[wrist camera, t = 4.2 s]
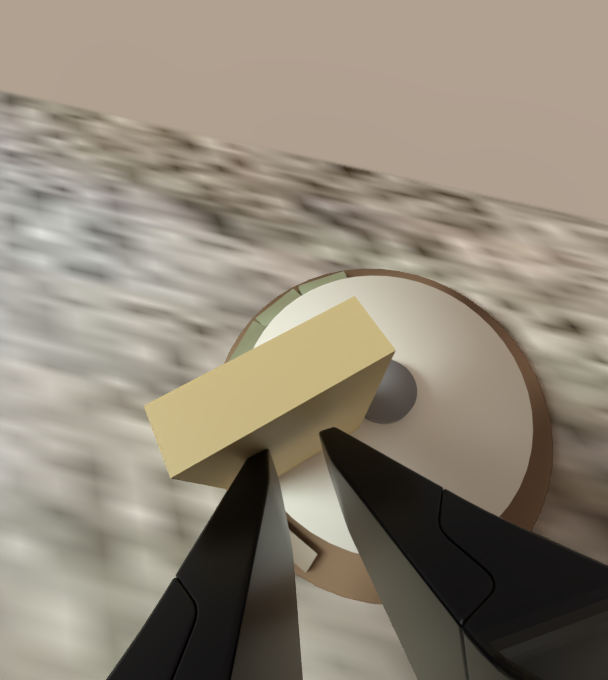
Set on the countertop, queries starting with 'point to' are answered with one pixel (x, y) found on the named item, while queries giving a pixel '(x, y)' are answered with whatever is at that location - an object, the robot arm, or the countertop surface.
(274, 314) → the base
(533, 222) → the countertop surface
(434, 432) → the dial
